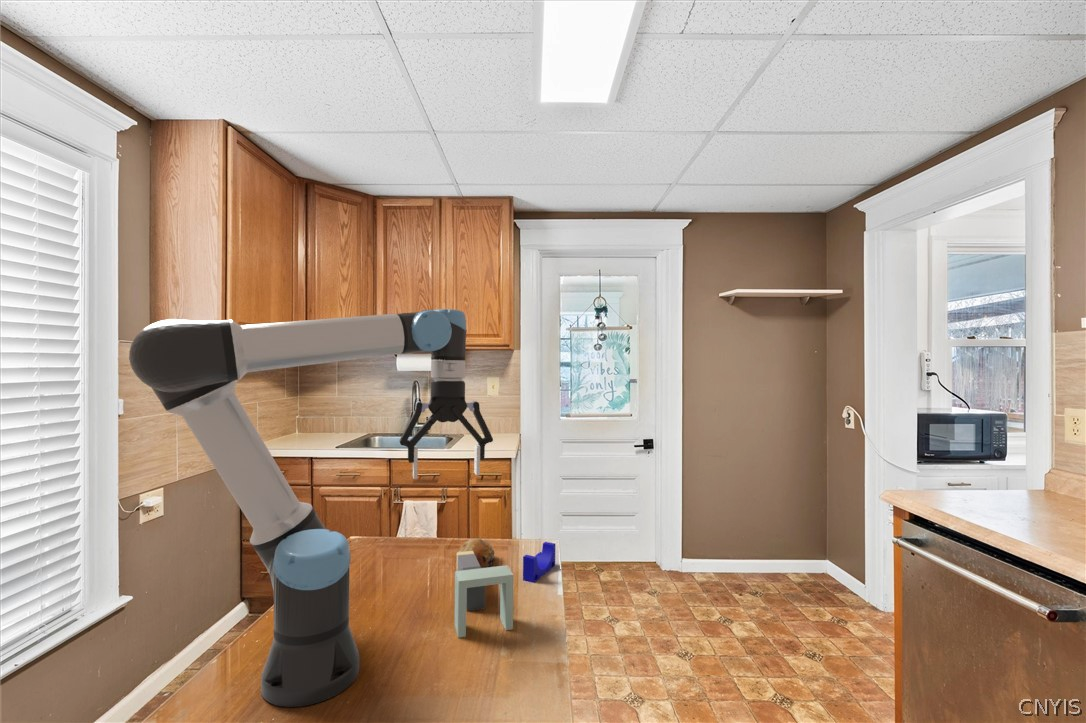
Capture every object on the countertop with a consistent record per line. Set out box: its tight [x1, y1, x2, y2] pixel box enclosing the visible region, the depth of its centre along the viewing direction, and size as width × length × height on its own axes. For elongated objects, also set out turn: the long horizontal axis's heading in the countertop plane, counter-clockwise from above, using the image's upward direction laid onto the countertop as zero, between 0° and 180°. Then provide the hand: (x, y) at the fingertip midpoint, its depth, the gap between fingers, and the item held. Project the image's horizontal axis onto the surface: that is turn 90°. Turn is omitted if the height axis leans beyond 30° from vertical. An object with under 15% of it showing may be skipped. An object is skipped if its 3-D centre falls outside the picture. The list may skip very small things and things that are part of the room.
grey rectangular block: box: [455, 551, 486, 612], centre depth 119 cm, size 4×16×7 cm, turn 18°
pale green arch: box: [453, 564, 514, 639], centre depth 104 cm, size 11×5×11 cm, turn 108°
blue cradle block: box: [522, 541, 556, 584], centre depth 132 cm, size 12×4×6 cm, turn 153°
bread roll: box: [455, 538, 496, 568], centre depth 138 cm, size 10×10×8 cm
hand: (446, 475), depth 114 cm, fingers open, 13 cm apart
